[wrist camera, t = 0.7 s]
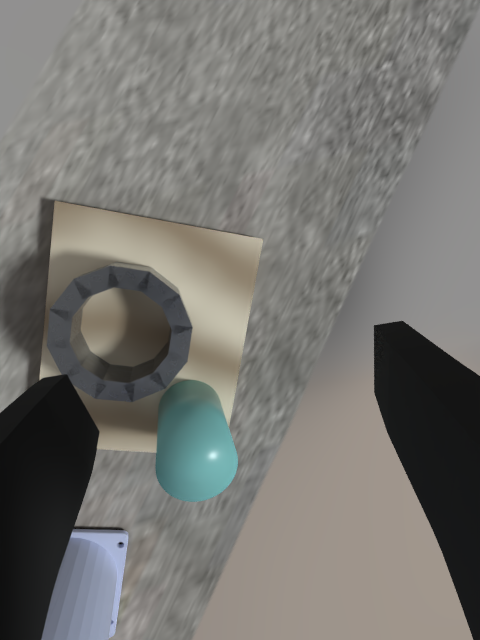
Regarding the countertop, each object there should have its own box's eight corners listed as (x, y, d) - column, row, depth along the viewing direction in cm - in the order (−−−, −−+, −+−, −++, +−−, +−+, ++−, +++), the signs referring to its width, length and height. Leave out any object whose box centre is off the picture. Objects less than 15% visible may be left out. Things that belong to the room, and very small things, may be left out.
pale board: (221, 449, 30) (223, 456, 29) (38, 437, 27) (33, 445, 27) (259, 238, 27) (263, 239, 26) (59, 201, 25) (54, 200, 24)
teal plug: (215, 440, 29) (230, 503, 22) (154, 435, 28) (150, 500, 21) (225, 383, 28) (244, 430, 21) (163, 376, 27) (161, 424, 20)
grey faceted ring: (179, 388, 28) (180, 406, 25) (55, 376, 26) (42, 394, 23) (196, 274, 26) (200, 279, 23) (67, 253, 24) (54, 256, 21)
